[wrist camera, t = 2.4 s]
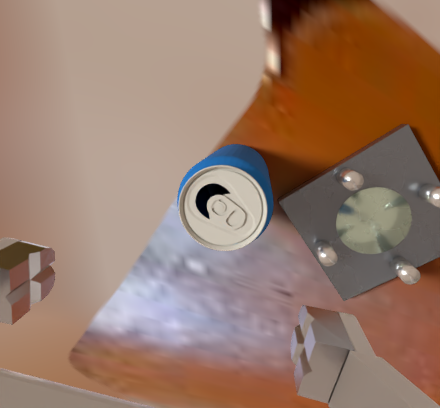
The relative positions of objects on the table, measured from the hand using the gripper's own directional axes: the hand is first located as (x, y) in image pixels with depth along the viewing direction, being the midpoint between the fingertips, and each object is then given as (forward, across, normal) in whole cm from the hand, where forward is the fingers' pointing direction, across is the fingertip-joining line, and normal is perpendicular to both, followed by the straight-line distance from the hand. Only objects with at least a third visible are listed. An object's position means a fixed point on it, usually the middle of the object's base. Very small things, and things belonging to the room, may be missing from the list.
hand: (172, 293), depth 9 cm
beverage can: (+21, -1, 0) cm, 21 cm away
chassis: (+21, -14, +2) cm, 25 cm away
